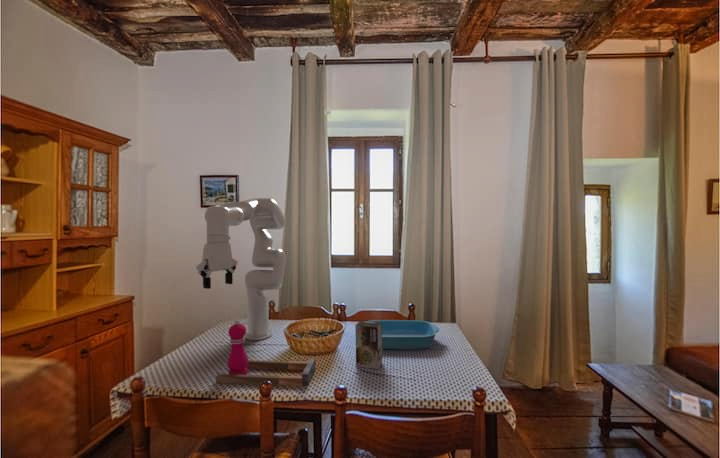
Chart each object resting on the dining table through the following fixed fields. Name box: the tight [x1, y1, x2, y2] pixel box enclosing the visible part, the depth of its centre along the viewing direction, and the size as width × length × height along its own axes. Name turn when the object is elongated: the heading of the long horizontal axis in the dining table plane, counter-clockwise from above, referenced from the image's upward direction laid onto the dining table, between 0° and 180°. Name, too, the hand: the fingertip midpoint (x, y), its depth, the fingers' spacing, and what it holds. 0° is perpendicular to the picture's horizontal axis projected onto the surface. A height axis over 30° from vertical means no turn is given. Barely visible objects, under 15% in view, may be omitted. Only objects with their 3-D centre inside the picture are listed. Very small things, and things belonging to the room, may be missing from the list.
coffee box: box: [354, 320, 383, 370], centre depth 130 cm, size 9×6×16 cm
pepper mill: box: [226, 319, 249, 375], centre depth 122 cm, size 7×7×20 cm
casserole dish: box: [369, 319, 440, 350], centre depth 153 cm, size 37×22×7 cm, turn 87°
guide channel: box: [215, 357, 317, 387], centre depth 121 cm, size 13×32×4 cm, turn 86°
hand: (218, 286), depth 125 cm, fingers open, 9 cm apart
